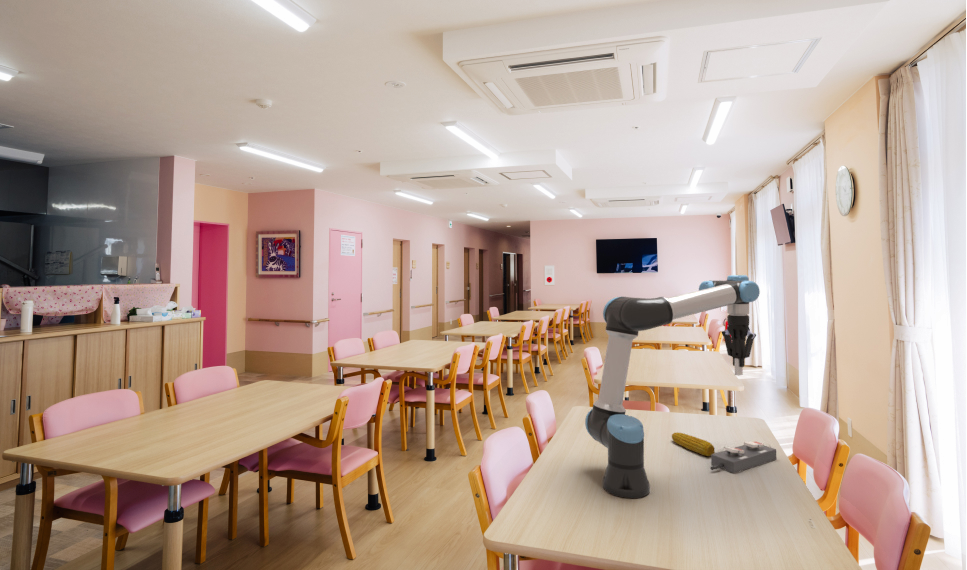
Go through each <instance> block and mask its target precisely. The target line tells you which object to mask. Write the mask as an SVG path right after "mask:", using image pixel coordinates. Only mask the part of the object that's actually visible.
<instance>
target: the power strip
mask: <svg viewBox="0 0 967 570" xmlns="http://www.w3.org/2000/svg"><path fill="white" fill-rule="evenodd" d="M734 448H738V449H741V450H743V451H744V454H743V453H733V452H730V451H727V450H721V451H718V452H715V453H714V454H711V456H710V457H711V458H710V459H711V461H710V462H711V466H710V467H709V468H710V471H714V470H717V469H721V470H723V471H726V472H729V473H732V474H736V473H739V472H743V471H746V470H749V469H752V468H755V467H758V466H761V465H764V464H766V463H767V464H768V463H769V462H773V461H775V460H777V448H775V447H771V446H767V445H764V447H754V448H752V447H749V446H746V445H744V444H743V445H739V446H735V447H734Z"/></svg>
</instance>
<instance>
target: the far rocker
mask: <svg viewBox="0 0 967 570" xmlns="http://www.w3.org/2000/svg"><path fill="white" fill-rule="evenodd" d="M743 445H746V446H749V447H752V448H754V447H764V446H765V444H764V443H761V442H758V441H744V442H743Z"/></svg>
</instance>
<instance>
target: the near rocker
mask: <svg viewBox="0 0 967 570" xmlns="http://www.w3.org/2000/svg"><path fill="white" fill-rule="evenodd" d="M723 447H724V448H723V451H725V450H727V451H730V452H733V453H743V454H744V451H743V450H741V449H738V448H735V447H729V446H728V447H727V446H723Z"/></svg>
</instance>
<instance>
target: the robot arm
mask: <svg viewBox="0 0 967 570" xmlns="http://www.w3.org/2000/svg"><path fill="white" fill-rule="evenodd" d="M760 293H761V290H760V287H759V285H758V283H756V282H755V281H752V280H750V279H749V276H748V275H746V274H742V275H741V274H736V275H735V274H734V275H731V274H730V275H727V278H726V280H704V281H702V282H701V283H700V284H699V286H698V290H696V291H691V292H688V293H683V294H679V295H675V296H672V297H668V298H666V297H664V296H659V297H655V298H654V297H653V298H645V297H644V298H642V297H630V296H617V297H613V298H611V299H610V300H608V302H606V304H605V305H604V306H603V307H604V308H603V310H602V316H603V320H604V321H605V323H606V325H605V332H606V334H607V335H608V338H607V345H606V352H605V356H604V357H605V358H604V364H603V369H602V376H601V382H600V388H599V395H598V399H597V400H596V401H594V402H593V405H592V408H591V409H590V411H588V412H587V414H586V416H585V421H584V422H585V423H584V424H585V429H586V431H587V433H588V435H590V436H591V437H592V439H594V441H596V442H598V443H599V444H601V445H602V446H603V447H605V448H606V449H607V465H606V469H605V473H604V475H603V478H602V487H603V489H604V490H605V492H607V493H608V494H611V495H613V496H615V497H620V498H626V499H638V498H639V499H640V498H644V497H645V496H648V495H649V494H650V487H651V485H650V482H649V479H648V475H647V473H646V469H645V453H644V452H645V447H644V445H645V443H644V441H645V440H644V438H645V431H644V424H643V423H642V422H641V420H640V419H638V418H637V417H635V416H632V415H628V414H626V413H627V412H626V409H625V407H624V405H623V403H624V395H625V390H626V385H627V384H626V383H627V377H628V370H629V367H630V366H629V365H630V360H631V359H630V358H631V353H632V348H633V347H632V346H633V341H634V340H635V339H636V338H638V336H639V333H640V332H641V331H642V332H643V331H648V330H651V329H655V328H658V327H662V326H667V325H669V324H671V323H672V322H673V321H674V320H676V319H681V318H685V317H688V316H693V315H696V314H701V313H703V312H708V311H711V310H716V309H719V308H722V307H723V308H724V307H727V314H728V315H727V328H726V329H725V330H722V331H721V335H722V337H723V339H724V343H725V348H726V352H727V355H728V356H729V357H731V358H732V365H733V367H734V376H742V375H743V374H744V373H743V372H744V371H743V370H744V369H743V368H744V367H745V359H747V358H750V356H751V352H752V348H753V343H754V340H755V338H756V336H757V334H756V333H753V332H752V331H751V328H750V327H749V325H750V316H749V314H750V303H753V302H755V301H757V299H758V298H759V297H760Z"/></svg>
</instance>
